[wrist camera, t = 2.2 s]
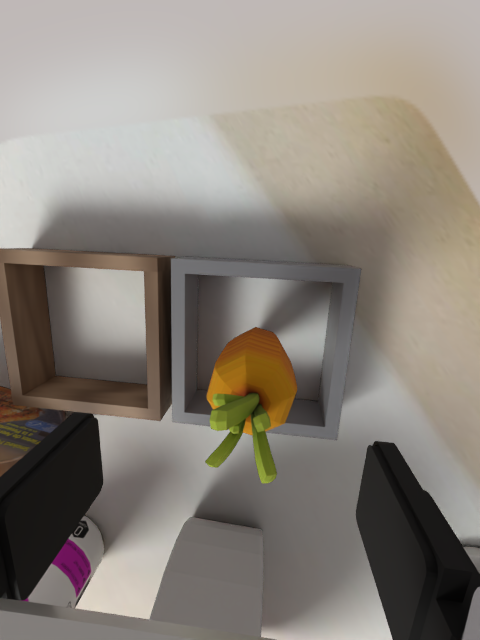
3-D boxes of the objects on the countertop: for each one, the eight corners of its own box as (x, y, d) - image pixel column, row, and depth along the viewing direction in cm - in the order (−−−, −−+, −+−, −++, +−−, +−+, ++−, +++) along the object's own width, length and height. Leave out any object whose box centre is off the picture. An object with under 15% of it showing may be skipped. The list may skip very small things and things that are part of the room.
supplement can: (39, 498, 33) (-143, 691, 19) (110, 515, 33) (-21, 728, 18) (38, 554, 35) (-125, 767, 21) (105, 571, 35) (-15, 802, 20)
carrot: (291, 362, 26) (311, 504, 12) (235, 366, 27) (188, 504, 13) (286, 306, 25) (302, 388, 11) (228, 311, 26) (168, 395, 11)
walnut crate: (175, 256, 25) (157, 257, 21) (176, 397, 28) (160, 421, 25) (31, 248, 27) (-11, 248, 23) (47, 384, 30) (13, 404, 26)
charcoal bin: (347, 265, 24) (361, 268, 20) (328, 412, 27) (336, 440, 23) (186, 256, 25) (170, 258, 21) (186, 398, 28) (172, 422, 24)
